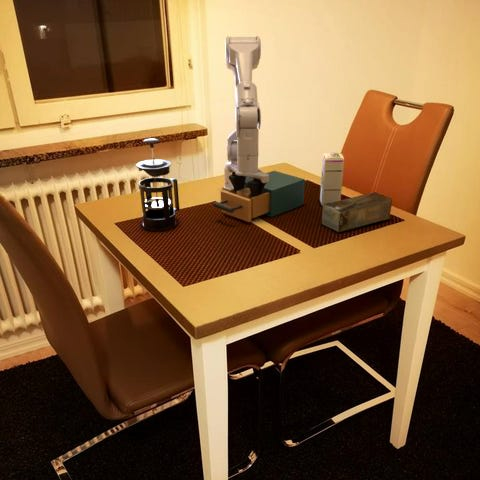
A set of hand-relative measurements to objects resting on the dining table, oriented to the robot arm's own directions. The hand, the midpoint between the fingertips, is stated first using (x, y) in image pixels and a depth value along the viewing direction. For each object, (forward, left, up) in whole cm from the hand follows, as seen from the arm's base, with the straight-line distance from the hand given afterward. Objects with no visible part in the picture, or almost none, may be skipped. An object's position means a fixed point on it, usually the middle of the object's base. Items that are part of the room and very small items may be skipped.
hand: (247, 201), depth 142 cm
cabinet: (0, +11, -4) cm, 11 cm away
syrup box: (+11, +25, -4) cm, 27 cm away
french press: (-12, -22, -4) cm, 26 cm away
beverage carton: (+26, +18, -4) cm, 31 cm away
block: (0, 0, -2) cm, 2 cm away
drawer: (0, -1, -3) cm, 3 cm away
